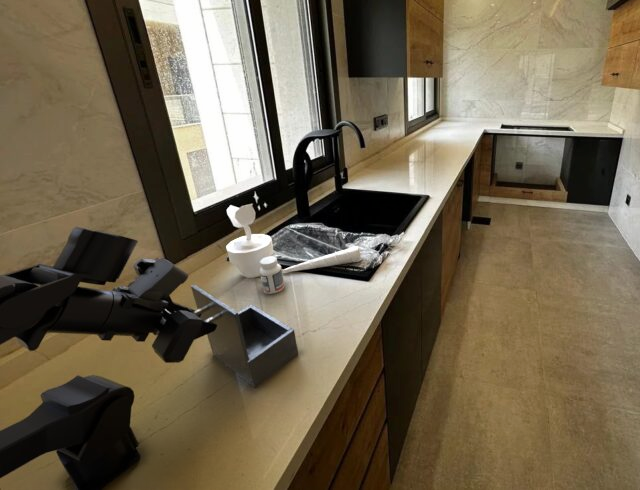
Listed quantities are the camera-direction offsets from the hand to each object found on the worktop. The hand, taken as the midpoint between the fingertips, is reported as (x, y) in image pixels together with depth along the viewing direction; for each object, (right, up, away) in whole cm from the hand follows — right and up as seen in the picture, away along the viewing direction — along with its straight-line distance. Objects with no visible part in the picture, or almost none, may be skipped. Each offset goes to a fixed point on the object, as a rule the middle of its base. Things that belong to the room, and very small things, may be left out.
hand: (207, 321), depth 57 cm
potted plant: (-12, +1, +39) cm, 40 cm away
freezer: (+3, -10, +10) cm, 15 cm away
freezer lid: (+1, -1, +2) cm, 2 cm away
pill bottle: (-3, -2, +31) cm, 31 cm away
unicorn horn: (+8, +2, +41) cm, 42 cm away
